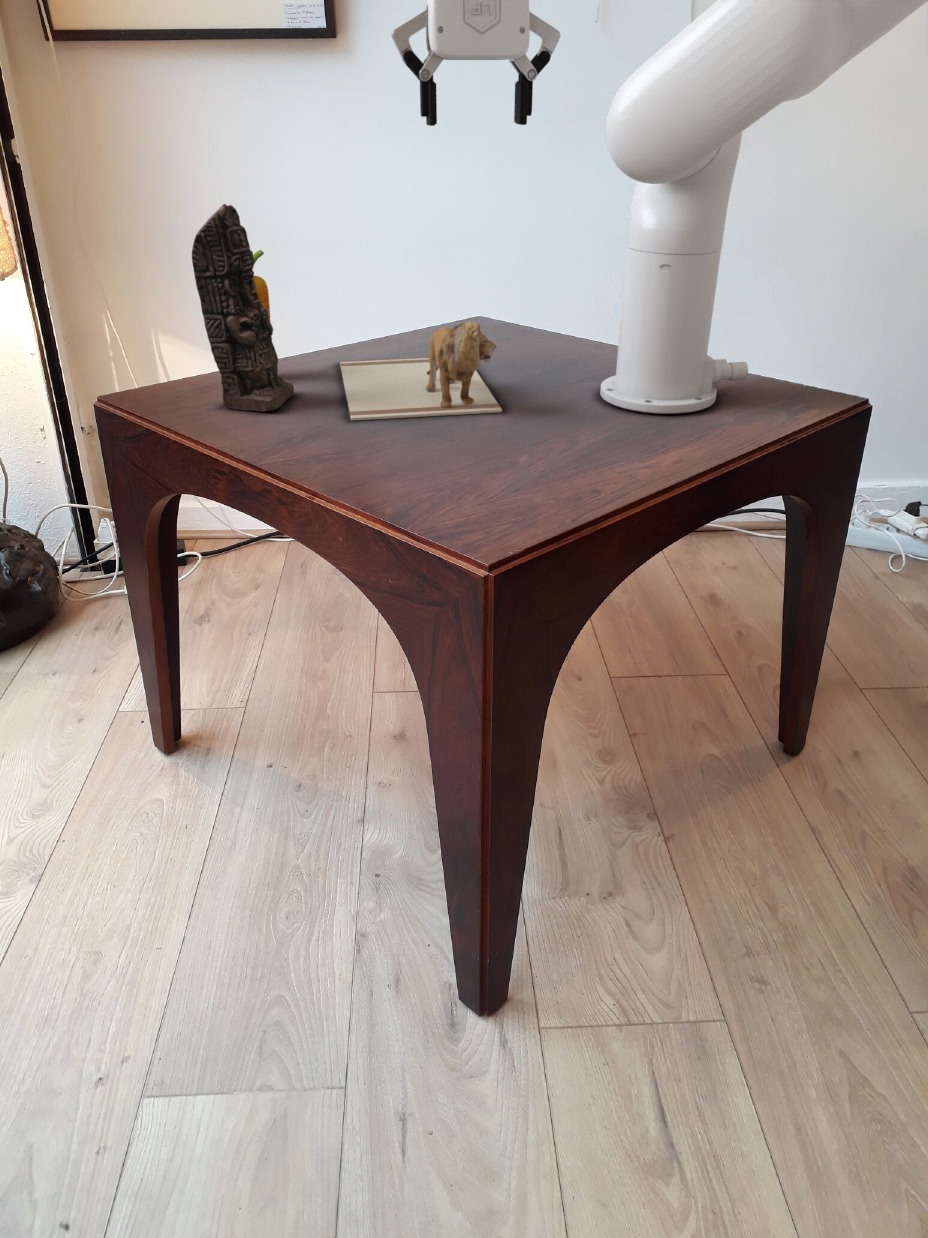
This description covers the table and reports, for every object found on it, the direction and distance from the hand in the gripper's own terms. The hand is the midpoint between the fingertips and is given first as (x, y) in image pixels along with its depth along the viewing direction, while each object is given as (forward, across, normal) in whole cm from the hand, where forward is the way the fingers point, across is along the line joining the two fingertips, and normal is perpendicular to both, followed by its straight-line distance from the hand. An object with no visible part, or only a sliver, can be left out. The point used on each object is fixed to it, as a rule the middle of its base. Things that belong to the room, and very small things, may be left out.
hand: (476, 124), depth 97 cm
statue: (+26, -26, -8) cm, 38 cm away
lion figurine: (+26, -4, -11) cm, 29 cm away
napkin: (+26, -8, -5) cm, 28 cm away
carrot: (+26, -26, +2) cm, 37 cm away
